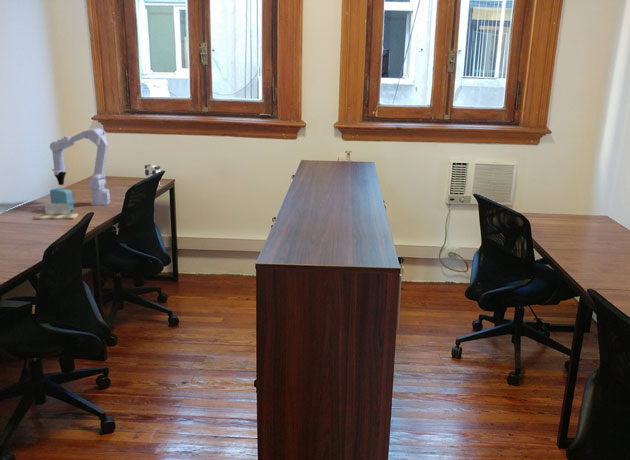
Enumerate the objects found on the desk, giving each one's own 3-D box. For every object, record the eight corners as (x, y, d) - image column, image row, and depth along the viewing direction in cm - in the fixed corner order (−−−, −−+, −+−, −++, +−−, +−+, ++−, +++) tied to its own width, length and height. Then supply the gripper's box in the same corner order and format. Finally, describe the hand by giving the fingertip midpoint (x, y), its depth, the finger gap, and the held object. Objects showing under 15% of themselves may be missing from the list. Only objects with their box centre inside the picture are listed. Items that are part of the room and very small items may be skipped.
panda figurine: (141, 187, 375) (139, 165, 371) (154, 184, 384) (153, 163, 380) (153, 190, 369) (152, 167, 365) (166, 187, 378) (165, 165, 374)
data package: (74, 211, 313) (71, 190, 310) (67, 212, 309) (65, 191, 306) (58, 208, 318) (56, 187, 314) (51, 210, 314) (49, 189, 310)
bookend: (78, 215, 304) (76, 202, 302) (73, 219, 297) (72, 206, 295) (39, 215, 302) (37, 203, 300) (34, 219, 294) (32, 206, 292)
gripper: (55, 159, 332) (58, 182, 336) (47, 164, 318) (50, 187, 322) (68, 159, 333) (70, 182, 337) (60, 164, 319) (63, 187, 323)
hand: (61, 184), depth 330 cm, fingers closed
